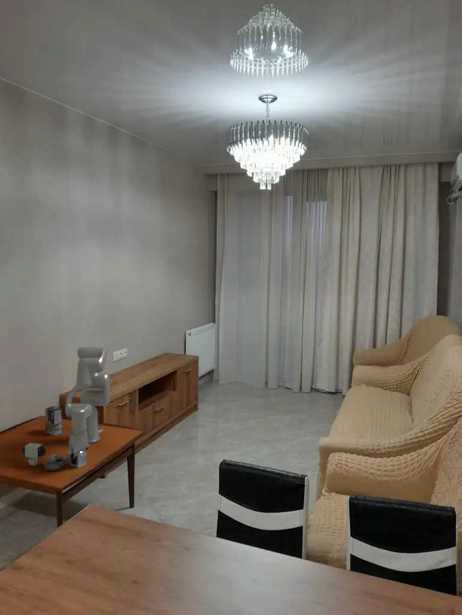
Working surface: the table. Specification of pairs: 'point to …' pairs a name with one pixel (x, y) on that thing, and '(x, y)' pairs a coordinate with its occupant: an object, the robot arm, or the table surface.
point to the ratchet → (56, 462)
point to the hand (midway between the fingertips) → (78, 461)
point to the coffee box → (53, 420)
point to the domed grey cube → (80, 458)
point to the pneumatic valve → (33, 452)
